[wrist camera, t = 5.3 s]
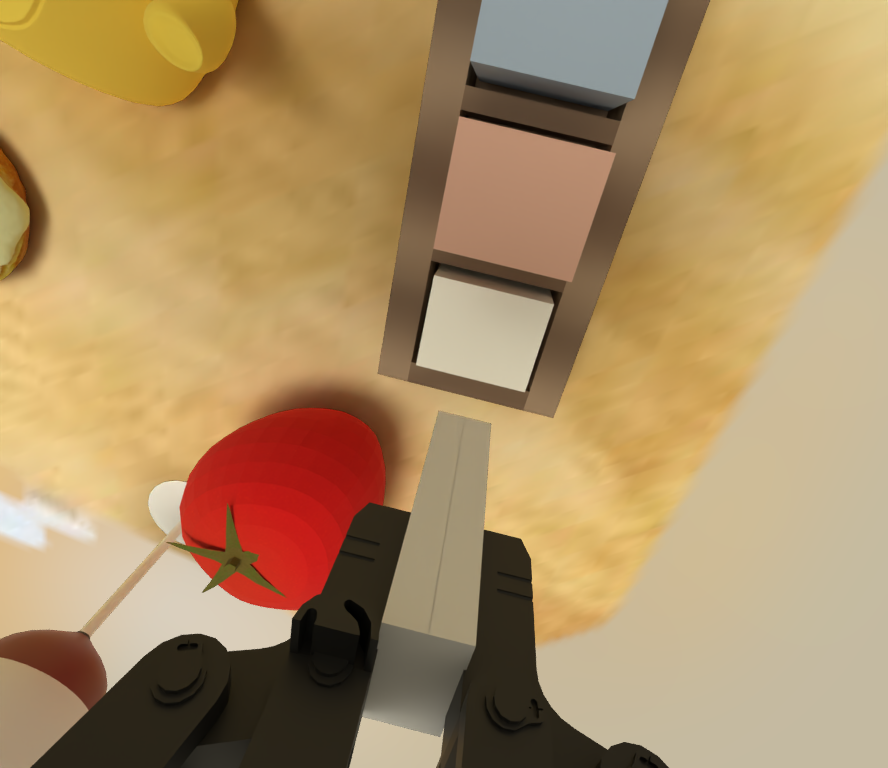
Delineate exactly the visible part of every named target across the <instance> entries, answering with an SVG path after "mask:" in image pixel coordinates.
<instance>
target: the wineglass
mask: <svg viewBox="0 0 888 768" xmlns="http://www.w3.org/2000/svg"><path fill="white" fill-rule="evenodd" d="M186 484H187V482H182V481H168V482H163V483H161V484H159V485H157V486H156V487H155V488H154V489H153V490H152V492H151V493H150V494H149V501H148V506H149V510H150V514H151V516H152V517H153V519H154V521H155V522H156V524H157V525H158V526H159V527H160V528H161V529H162V530H163V531H164V532H165V533H166V534H167V536H166V537H165V538H164V539H163V540H162V541H161V542H160V543H159V544H158V545H157V547H156V548H155V549H154V550H153V551H152V552H151V553H150V554H149V555H148V557H147V558H146V559H145V560H144V561H143V562H142V563H141V564H140V565H139V566H138V567H137V569H136V570H135V571H134V572H133V573H132V574H131V575H130V576H129V577H128V579H127V580H126V581H125V582H124V583H123V584H122V585H121V586H120V587H119V588H118V589H117V591H116V592H115V593H114V594H113V595H112V596H111V597H110V598H109V599H108V600H107V602H106V603H105V604H104V605H103V606H102V607H101V608H100V609H99V610H98V612H97V613H96V614H95V615H94V616H93V617H92V618H91V619H90V620H89V621H88V622H87V624H86V625H85V626H84V627H83V628H82V629H81V630H80V631H78V632H66V631H57V630H30V631H25V632H20V633H15V634H12V635H9V636H7V637H4V638H2V639H0V768H30V767H31V766H32V765H33V764H34V763H35V762H36V761H37V760H38V759H39V758H40V757H42V756H43V755H44V754H45V753H46V752H47V751H48V750H49V749H50V748H51V747H52V746H53V745H54V744H55V743H56V742H57V741H58V740H59V739H60V738H61V737H62V736H63V735H64V734H65V733H66V732H67V731H68V730H69V729H70V728H71V727H72V726H73V725H74V724H75V723H76V722H77V721H78V720H79V719H80V718H81V717H82V716H84V715H85V714H86V713H87V712H88V711H89V710H90V709H91V708H92V707H93V706H94V705H95V704H96V703H97V702H98V701H99V700H100V699H101V698H102V697H103V696H104V695H105V694H106V690H107V678H106V671H105V668H104V665H103V663H102V660H101V658H100V656H99V655H98V653H97V651H96V650H95V648H94V647H93V645H92V643H91V641H90V637H91V636H92V634H93V633H94V632H95V631H96V630H97V629H98V627H99V626H100V625H101V624H102V623H103V622H104V621H105V619H106V618H107V617H108V616H109V615H110V614H111V613H112V611H113V610H114V609H115V608H116V607H117V606H118V605H119V604H120V602H121V601H122V600H123V599H124V598H125V597H126V595H127V594H128V593H129V592H130V591H131V590H132V589H133V588H134V586H135V585H136V584H137V583H138V582H139V581H140V580H141V578H142V577H143V576H144V575H145V574H146V573H147V572H148V570H149V569H150V568H151V567H152V566H153V565H154V564H155V562H156V561H157V560H158V559H159V558H160V557H161V555H162V554H163V553H164V552H165V551H166V550H167V549H168V548H169V547H170V545H171V544H169V543H166V542H172V543H173V542H174V541H175V540H176V541H177V542H180V543H182V544H185V542H184V540H183V537H182V529H181V518H180V508H179V507H180V503H181V500H182V496H183V493H184V489H185V487H186ZM185 545H186V544H185Z"/></svg>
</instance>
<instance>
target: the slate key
mask: <svg viewBox="0 0 888 768" xmlns="http://www.w3.org/2000/svg"><path fill="white" fill-rule="evenodd" d="M667 3H668V0H482V2H481V7H480V13H479V18H478V23H477V28H476V33H475V38H474V43H473V48H472V53H471V58H470V62H471V64H472V66H473V68H474V70H475V72H476V75H477V77H478V79H479V81H482V82H486V83H490V84H495V85H499V86H503V87H507V88H512V89H516V90H520V91H524V92H529V93H533V94H537V95H541V96H546V97H550V98H554V99H559V100H563V101H567V102H571V103H576V104H580V105H584V106H588V107H593V108H597V109H601V110H605V111H610V110H612V109H614V108H616V107H618V106H621V105H623V104H625V103H627V102H629V101H632V100H634V99H635V97H636V94H637V91H638V88H639V85H640V82H641V79H642V76H643V73H644V70H645V67H646V64H647V61H648V59H649V56H650V53H651V50H652V47H653V44H654V41H655V38H656V35H657V32H658V29H659V26H660V24H661V21H662V18H663V15H664V12H665V9H666V6H667Z"/></svg>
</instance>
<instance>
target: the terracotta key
mask: <svg viewBox="0 0 888 768" xmlns="http://www.w3.org/2000/svg"><path fill="white" fill-rule="evenodd" d="M615 155H616V153H613V152H608V151H604V150H600V149H596V148H592V147H587V146H583V145H579V144H575V143H570V142H566V141H562V140H558V139H554V138H549V137H545V136H541V135H537V134H532V133H528V132H524V131H520V130H516V129H511V128H507V127H503V126H499V125H494V124H490V123H486V122H482V121H477V120H473V119H469V118H465V117H461V116H459V120H458V125H457V130H456V135H455V140H454V145H453V150H452V155H451V161H450V166H449V171H448V176H447V181H446V186H445V191H444V196H443V201H442V206H441V212H440V217H439V222H438V227H437V232H436V237H435V242H434V247H433V249H437V250H441V251H445V252H449V253H453V254H458V255H462V256H466V257H470V258H474V259H478V260H482V261H486V262H490V263H494V264H499V265H503V266H507V267H511V268H515V269H519V270H523V271H527V272H531V273H535V274H540V275H544V276H548V277H552V278H556V279H560V280H564V281H568V282H572V280H573V277H574V274H575V272H576V269H577V266H578V263H579V260H580V257H581V254H582V251H583V248H584V245H585V242H586V239H587V237H588V234H589V231H590V228H591V225H592V222H593V219H594V216H595V213H596V210H597V207H598V204H599V202H600V199H601V196H602V193H603V190H604V187H605V184H606V181H607V178H608V175H609V172H610V169H611V167H612V164H613V161H614V158H615Z"/></svg>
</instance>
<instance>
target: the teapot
mask: <svg viewBox="0 0 888 768" xmlns="http://www.w3.org/2000/svg"><path fill="white" fill-rule="evenodd" d="M238 1H239V0H0V40H1V41H3V42H5V43H6V44H8V45H9V46H11V47H13V48H14V49H16V50H18V51H19V52H21V53H22V54H24V55H26V56H27V57H29V58H31V59H33V60H35V61H37V62H39V63H40V64H42V65H44V66H46V67H48V68H50V69H52V70H54V71H56V72H58V73H60V74H62V75H64V76H66V77H68V78H70V79H72V80H75V81H77V82H79V83H81V84H83V85H86V86H88V87H91V88H93V89H96V90H98V91H101V92H104V93H106V94H109V95H112V96H115V97H118V98H121V99H124V100H127V101H131V102H134V103H140V104H146V105H153V106H165V105H171V104H174V103H176V102H179V101H181V100H183V99H185V98H186V97H187V96H188V95H189V94H190V93H191V92H192V91H193V90H194V89H195V88H196V87H197V85H198V84H199V82H200V81H201V79H202V78H203V77H204V75H205V74H206V73H209V72H212V71H214V70H215V69H217V68H218V67H220V65H221V64H222V63H223V62H224V61H225V59H226V57H227V55H228V53H229V51H230V49H231V47H232V44H233V40H234V37H235V32H236V16H235V10H236V7H237V4H238Z"/></svg>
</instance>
